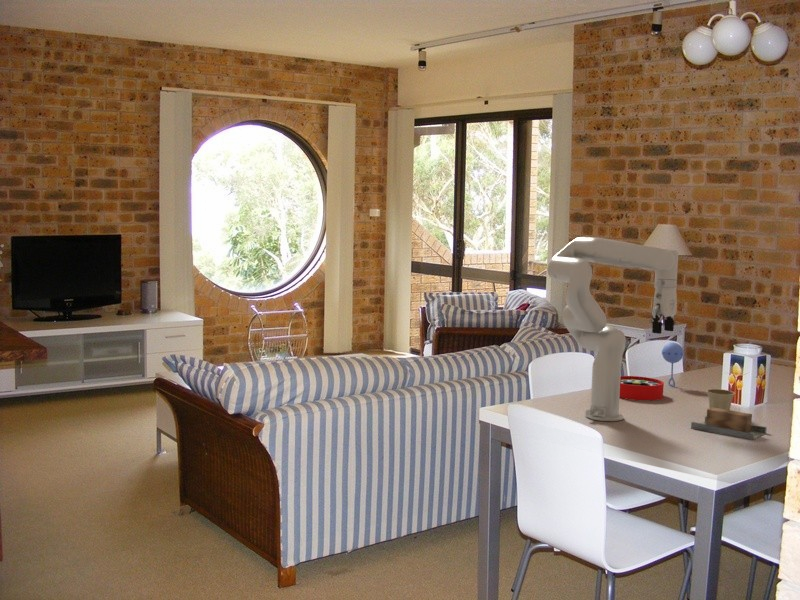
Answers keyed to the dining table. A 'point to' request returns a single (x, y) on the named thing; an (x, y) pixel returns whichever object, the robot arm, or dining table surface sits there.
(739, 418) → the walnut block
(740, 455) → the dining table surface
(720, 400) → the flower pot
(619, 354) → the robot arm
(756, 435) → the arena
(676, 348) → the baby rattle
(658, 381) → the toy clock
